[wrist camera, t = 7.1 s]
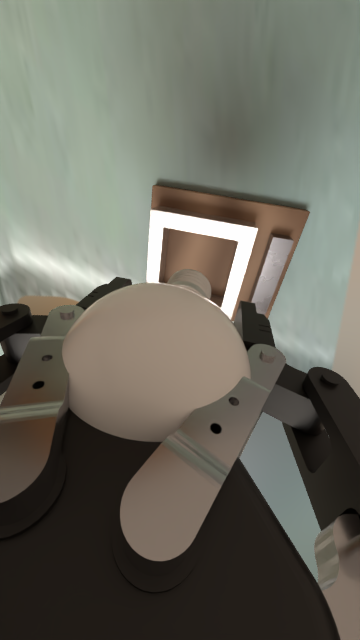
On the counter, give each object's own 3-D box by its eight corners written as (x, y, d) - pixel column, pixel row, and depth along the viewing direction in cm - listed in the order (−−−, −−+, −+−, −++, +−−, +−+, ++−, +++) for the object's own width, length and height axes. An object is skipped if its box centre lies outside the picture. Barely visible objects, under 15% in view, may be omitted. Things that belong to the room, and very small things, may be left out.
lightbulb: (258, 311, 15) (297, 536, 6) (171, 339, 17) (98, 528, 8) (217, 211, 12) (168, 320, 3) (122, 261, 15) (-60, 404, 6)
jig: (148, 297, 34) (138, 313, 30) (156, 184, 26) (143, 187, 22) (262, 321, 32) (266, 341, 29) (306, 209, 25) (319, 216, 21)
